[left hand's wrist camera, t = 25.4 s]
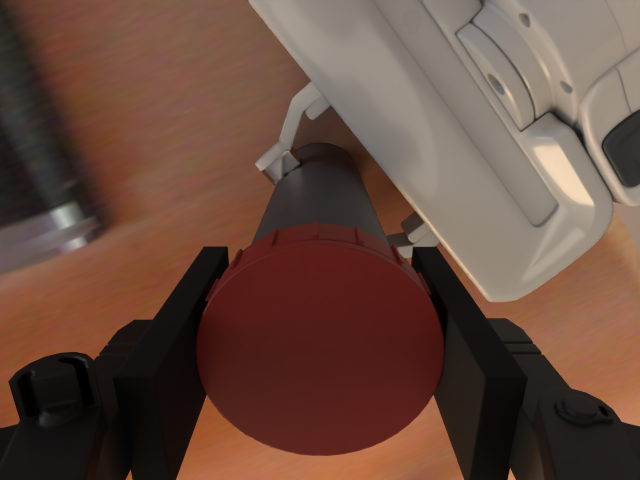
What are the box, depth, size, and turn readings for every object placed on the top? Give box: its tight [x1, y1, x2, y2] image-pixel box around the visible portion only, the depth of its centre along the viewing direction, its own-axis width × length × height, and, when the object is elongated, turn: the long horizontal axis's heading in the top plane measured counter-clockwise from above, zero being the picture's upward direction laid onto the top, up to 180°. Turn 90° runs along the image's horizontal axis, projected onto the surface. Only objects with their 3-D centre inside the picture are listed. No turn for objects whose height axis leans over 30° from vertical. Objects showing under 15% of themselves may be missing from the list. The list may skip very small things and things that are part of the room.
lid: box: [196, 221, 445, 456], centre depth 11 cm, size 6×6×2 cm
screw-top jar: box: [252, 143, 389, 244], centre depth 20 cm, size 5×5×18 cm
